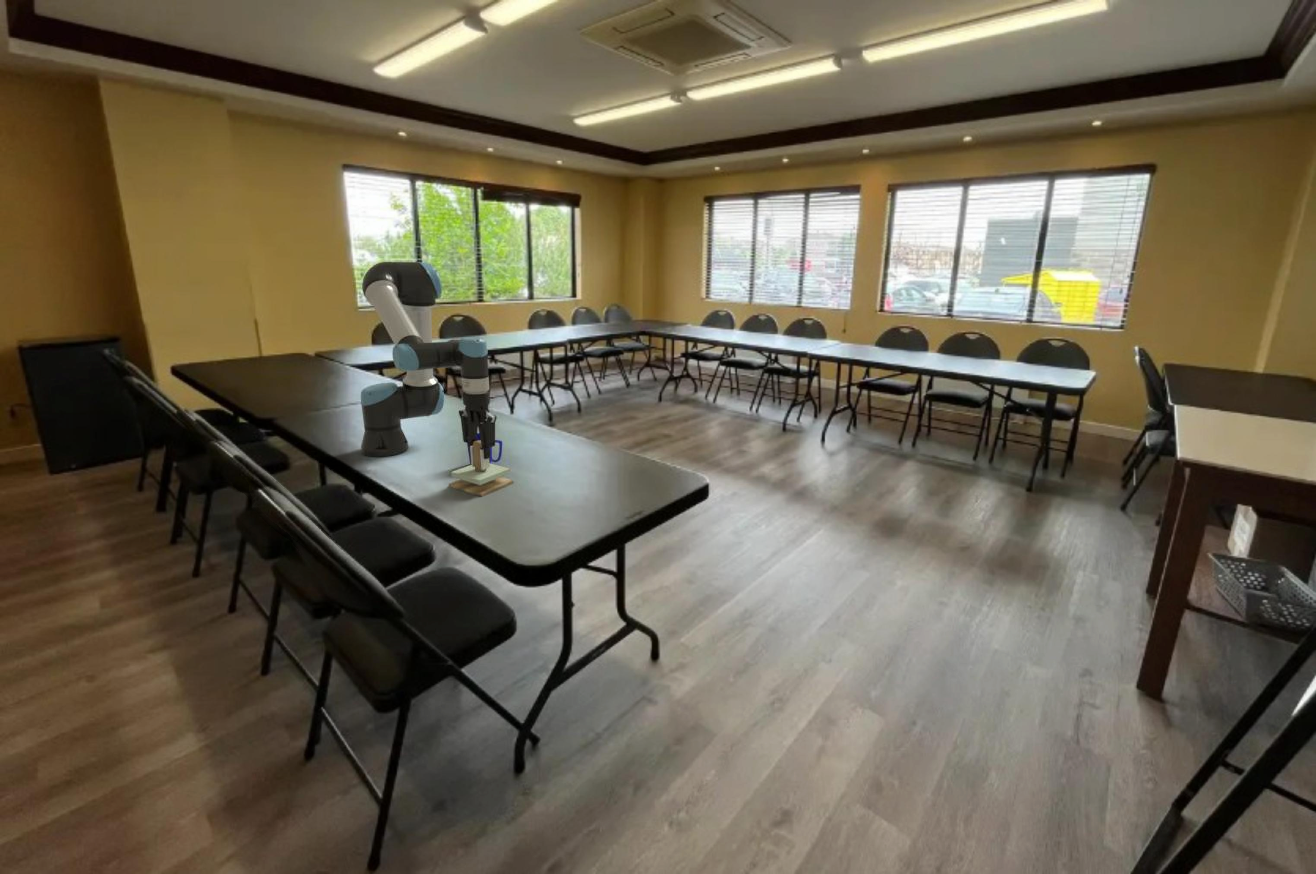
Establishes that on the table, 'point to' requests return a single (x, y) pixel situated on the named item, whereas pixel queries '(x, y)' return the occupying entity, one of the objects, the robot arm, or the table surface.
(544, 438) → the table surface
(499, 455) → the mug
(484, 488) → the mat
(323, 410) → the table surface
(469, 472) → the lid
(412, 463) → the table surface
